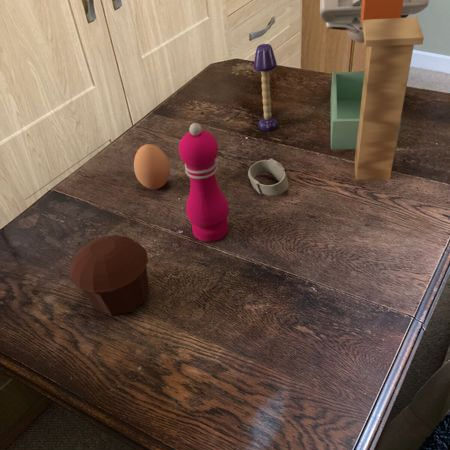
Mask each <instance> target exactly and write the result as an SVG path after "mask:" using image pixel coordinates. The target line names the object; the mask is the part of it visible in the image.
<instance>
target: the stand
mask: <svg viewBox="0 0 450 450" xmlns="http://www.w3.org/2000/svg"><path fill="white" fill-rule="evenodd" d="M363 34H364V47H365V48H366V57H365V63H364V64H365V65H364V71H365V73H364V82H363V91H362V100H361V109H360V118H359V127H358V135H357V144H356V149H355V155H354V174H355V180H356V181H360V180H361V181H372V180H373V181H376V180H377V181H380V180H381V181H385V180H386V181H390V180H391V175H392V170H393V164H394V158H395V152H396V149H397V146H396V142H397V143H398V141H397V137H398V138H399V135H398V131H399V132H400V130H399V126H400V127H401V124H400V120H401V121H402V114H403V107H404V102H405V97H406V91H407V86H408V81H409V76H410V75H409V74H410V69H411V63H412V57H413V51H414V46H417V45H424V39H425V38H424V33H423V31H422V28H421V24H420V22H419V19H418V16H413V17H410V16H408V17H406V18H390V19H371V20H363ZM395 148H396V149H395Z"/></svg>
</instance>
